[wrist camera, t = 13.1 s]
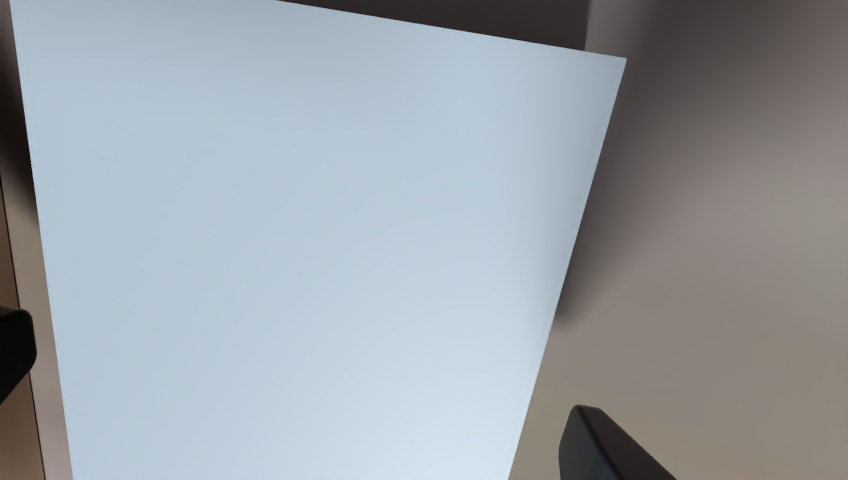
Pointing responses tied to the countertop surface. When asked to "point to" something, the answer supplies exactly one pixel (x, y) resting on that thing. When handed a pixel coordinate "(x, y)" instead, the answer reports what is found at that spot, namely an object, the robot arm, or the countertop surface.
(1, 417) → the chisel box
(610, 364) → the countertop surface
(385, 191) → the lid
